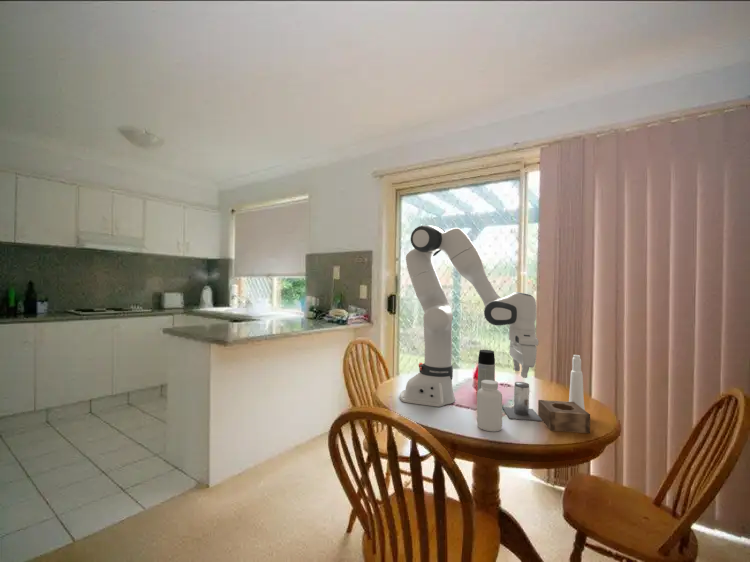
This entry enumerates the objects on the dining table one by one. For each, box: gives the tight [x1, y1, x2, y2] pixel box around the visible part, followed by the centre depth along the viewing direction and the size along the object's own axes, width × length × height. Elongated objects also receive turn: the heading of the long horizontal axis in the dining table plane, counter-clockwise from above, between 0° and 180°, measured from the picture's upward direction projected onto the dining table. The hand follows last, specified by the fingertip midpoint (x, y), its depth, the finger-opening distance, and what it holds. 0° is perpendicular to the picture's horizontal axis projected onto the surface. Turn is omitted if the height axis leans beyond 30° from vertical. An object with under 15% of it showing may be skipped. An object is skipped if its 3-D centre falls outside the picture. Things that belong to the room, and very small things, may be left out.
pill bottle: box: [476, 380, 503, 432], centre depth 113 cm, size 8×8×15 cm
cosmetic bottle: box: [568, 354, 586, 411], centre depth 125 cm, size 6×6×22 cm
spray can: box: [477, 349, 496, 391], centre depth 141 cm, size 7×7×20 cm
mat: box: [502, 406, 543, 422], centre depth 124 cm, size 11×11×1 cm
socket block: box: [537, 399, 591, 434], centre depth 116 cm, size 12×12×6 cm
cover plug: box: [513, 381, 530, 416], centre depth 124 cm, size 5×5×11 cm
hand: (520, 373), depth 125 cm, fingers open, 8 cm apart
